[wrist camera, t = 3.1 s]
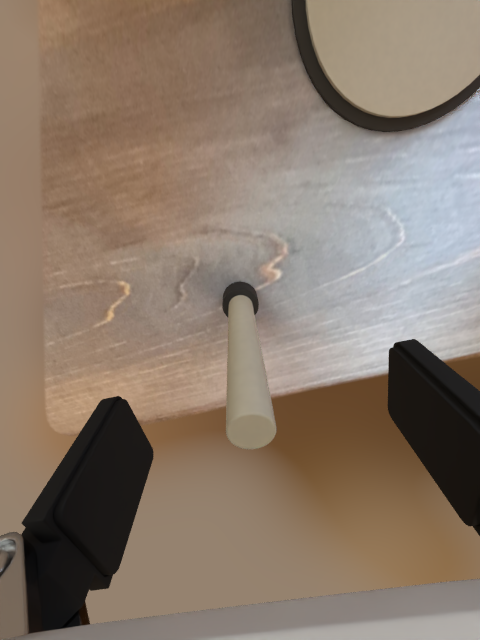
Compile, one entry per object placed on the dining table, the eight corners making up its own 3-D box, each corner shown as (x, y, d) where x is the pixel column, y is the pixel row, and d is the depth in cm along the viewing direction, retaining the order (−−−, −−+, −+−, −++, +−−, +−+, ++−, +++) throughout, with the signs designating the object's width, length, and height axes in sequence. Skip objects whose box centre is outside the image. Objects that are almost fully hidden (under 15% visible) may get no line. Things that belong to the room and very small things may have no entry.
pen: (216, 297, 19) (197, 432, 8) (240, 274, 18) (254, 389, 8) (239, 318, 20) (248, 468, 9) (263, 298, 19) (304, 432, 8)
